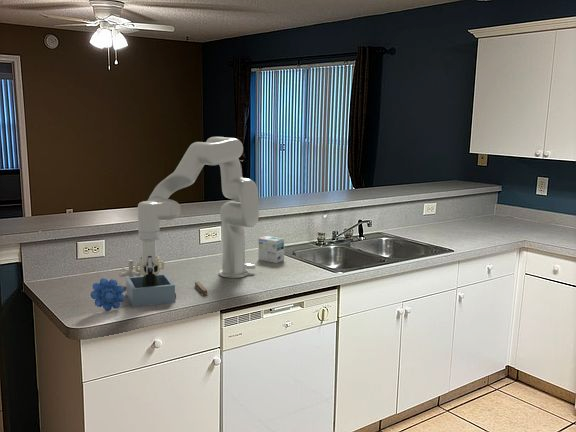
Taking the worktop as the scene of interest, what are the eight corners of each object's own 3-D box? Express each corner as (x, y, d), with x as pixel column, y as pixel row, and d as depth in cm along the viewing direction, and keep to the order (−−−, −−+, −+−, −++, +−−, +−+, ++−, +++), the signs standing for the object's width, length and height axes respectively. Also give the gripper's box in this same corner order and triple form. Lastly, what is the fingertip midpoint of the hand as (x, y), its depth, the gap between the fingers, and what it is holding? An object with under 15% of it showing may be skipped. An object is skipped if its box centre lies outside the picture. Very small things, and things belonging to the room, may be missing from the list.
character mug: (138, 295, 210) (136, 261, 208) (133, 290, 216) (132, 256, 214) (167, 291, 215) (166, 258, 212) (162, 286, 221) (161, 253, 219)
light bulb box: (284, 260, 273) (284, 238, 271) (276, 263, 267) (277, 240, 265) (265, 256, 278) (266, 235, 276) (257, 259, 272) (258, 237, 270)
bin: (166, 289, 226) (166, 273, 225) (175, 302, 212) (174, 285, 211) (126, 294, 220) (126, 277, 219) (132, 307, 206) (132, 289, 205)
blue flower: (93, 317, 196) (92, 283, 194) (89, 310, 202) (88, 277, 199) (128, 311, 201) (127, 278, 199) (123, 305, 207) (122, 273, 205)
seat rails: (199, 286, 231) (198, 281, 231) (207, 295, 221) (207, 290, 220) (165, 289, 226) (165, 284, 226) (171, 299, 215) (171, 294, 215)
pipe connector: (134, 279, 238) (133, 255, 236) (149, 284, 232) (148, 260, 230) (113, 284, 231) (112, 260, 229) (128, 290, 225) (127, 265, 223)
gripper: (138, 230, 219) (140, 275, 222) (138, 240, 202) (139, 289, 206) (159, 229, 221) (160, 274, 224) (160, 240, 204) (161, 288, 208)
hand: (150, 281), depth 215 cm, fingers closed on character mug, 7 cm apart
